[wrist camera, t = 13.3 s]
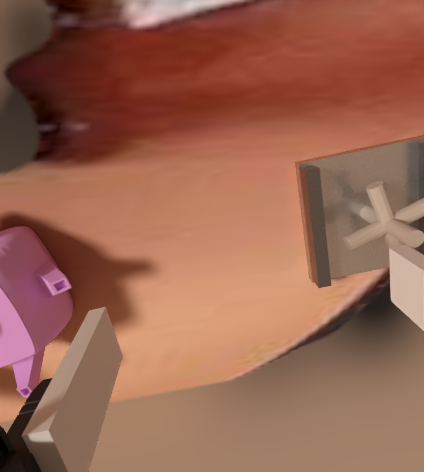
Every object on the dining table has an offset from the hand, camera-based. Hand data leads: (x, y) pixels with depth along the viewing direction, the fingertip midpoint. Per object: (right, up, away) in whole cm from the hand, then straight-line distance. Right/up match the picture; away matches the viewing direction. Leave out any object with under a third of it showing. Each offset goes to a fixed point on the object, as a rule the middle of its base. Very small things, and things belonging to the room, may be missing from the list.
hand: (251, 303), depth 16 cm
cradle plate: (+18, +6, +29) cm, 35 cm away
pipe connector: (+18, +6, +28) cm, 34 cm away
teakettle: (-27, -3, +30) cm, 41 cm away
